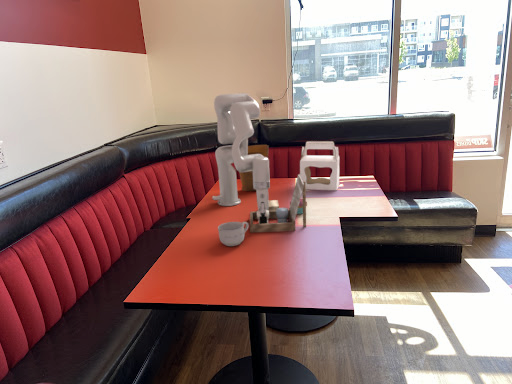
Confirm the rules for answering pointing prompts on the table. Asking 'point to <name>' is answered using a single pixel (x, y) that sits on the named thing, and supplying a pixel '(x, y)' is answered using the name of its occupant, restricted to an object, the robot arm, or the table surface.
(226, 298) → the table surface
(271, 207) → the stand
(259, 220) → the cream pot
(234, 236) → the teacup
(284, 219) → the blue pot
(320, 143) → the white carry box
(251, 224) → the cold frame
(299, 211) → the cupcake
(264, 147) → the pancake mix bag
